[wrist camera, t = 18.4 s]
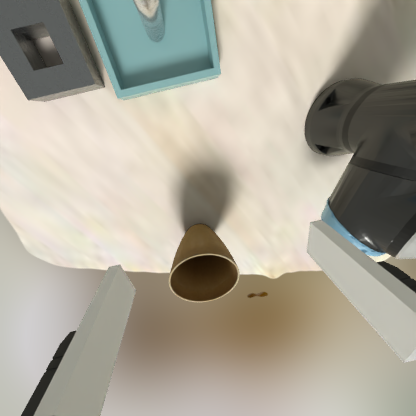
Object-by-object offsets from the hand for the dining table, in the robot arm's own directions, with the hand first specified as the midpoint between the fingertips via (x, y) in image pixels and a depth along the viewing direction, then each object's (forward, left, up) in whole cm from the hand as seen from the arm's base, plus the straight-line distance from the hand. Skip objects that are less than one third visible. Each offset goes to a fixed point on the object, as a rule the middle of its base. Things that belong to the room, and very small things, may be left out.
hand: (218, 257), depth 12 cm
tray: (+1, -21, -32) cm, 38 cm away
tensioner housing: (+18, -21, -32) cm, 42 cm away
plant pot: (+4, +22, -32) cm, 39 cm away
